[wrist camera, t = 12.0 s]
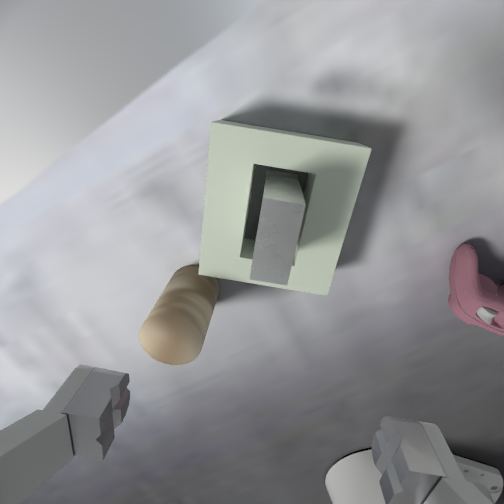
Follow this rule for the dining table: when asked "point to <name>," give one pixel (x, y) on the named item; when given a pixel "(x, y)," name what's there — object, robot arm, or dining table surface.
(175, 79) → the dining table surface
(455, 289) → the video game controller
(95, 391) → the robot arm
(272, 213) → the grey rectangular block
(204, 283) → the round beech peg
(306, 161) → the slot block
